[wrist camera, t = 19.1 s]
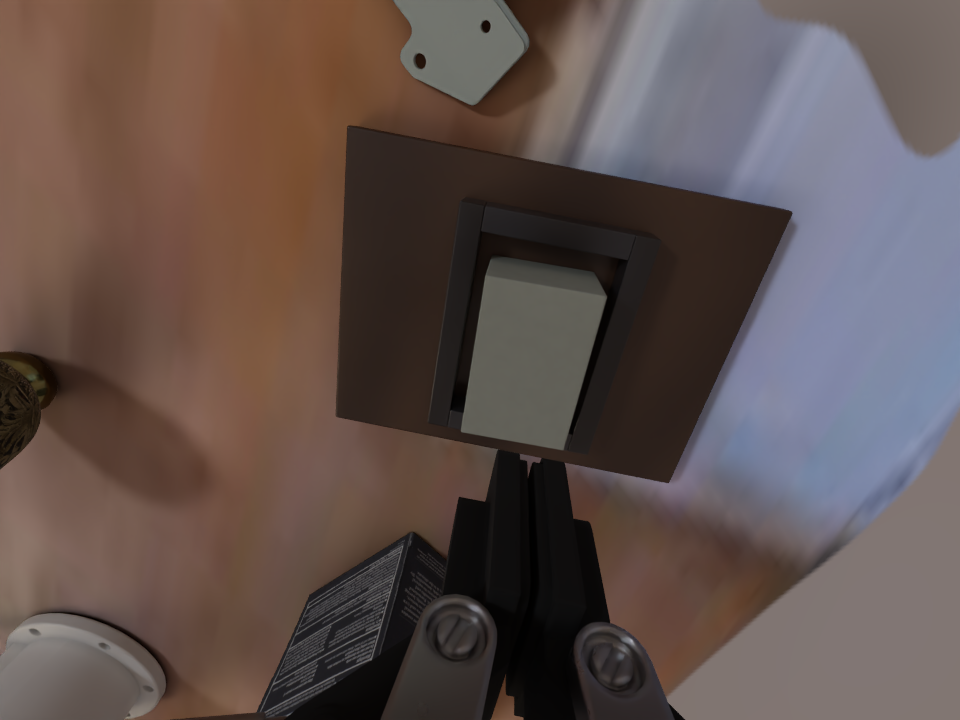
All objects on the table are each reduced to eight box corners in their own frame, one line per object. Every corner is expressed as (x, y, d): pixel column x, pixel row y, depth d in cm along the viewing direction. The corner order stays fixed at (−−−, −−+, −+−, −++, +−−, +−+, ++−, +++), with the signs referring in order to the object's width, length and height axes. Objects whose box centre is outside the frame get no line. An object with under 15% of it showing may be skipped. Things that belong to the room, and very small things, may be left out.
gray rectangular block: (469, 392, 23) (460, 432, 20) (492, 254, 20) (485, 275, 17) (558, 408, 23) (563, 451, 20) (594, 272, 20) (607, 296, 17)
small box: (373, 643, 34) (313, 836, 24) (307, 593, 32) (215, 780, 23) (480, 587, 30) (459, 789, 21) (412, 527, 29) (355, 717, 19)
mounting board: (342, 407, 25) (323, 433, 23) (355, 125, 19) (332, 123, 17) (664, 471, 25) (677, 504, 23) (781, 208, 19) (815, 217, 17)
